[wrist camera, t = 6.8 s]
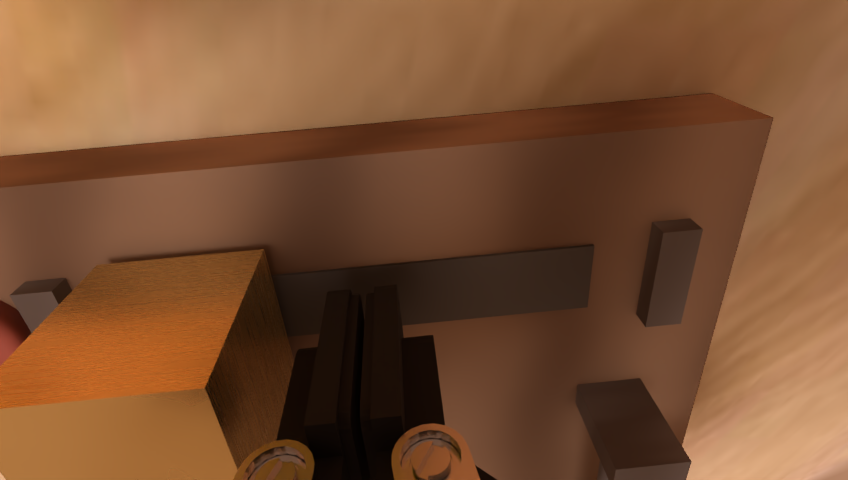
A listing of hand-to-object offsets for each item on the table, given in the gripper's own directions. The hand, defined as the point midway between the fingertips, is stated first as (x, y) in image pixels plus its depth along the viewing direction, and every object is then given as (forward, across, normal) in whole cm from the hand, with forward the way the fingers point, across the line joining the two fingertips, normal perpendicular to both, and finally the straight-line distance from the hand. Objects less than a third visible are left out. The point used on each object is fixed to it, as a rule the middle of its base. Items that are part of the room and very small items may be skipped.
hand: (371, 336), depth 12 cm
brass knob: (+1, +4, 0) cm, 5 cm away
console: (+4, +1, +3) cm, 5 cm away
